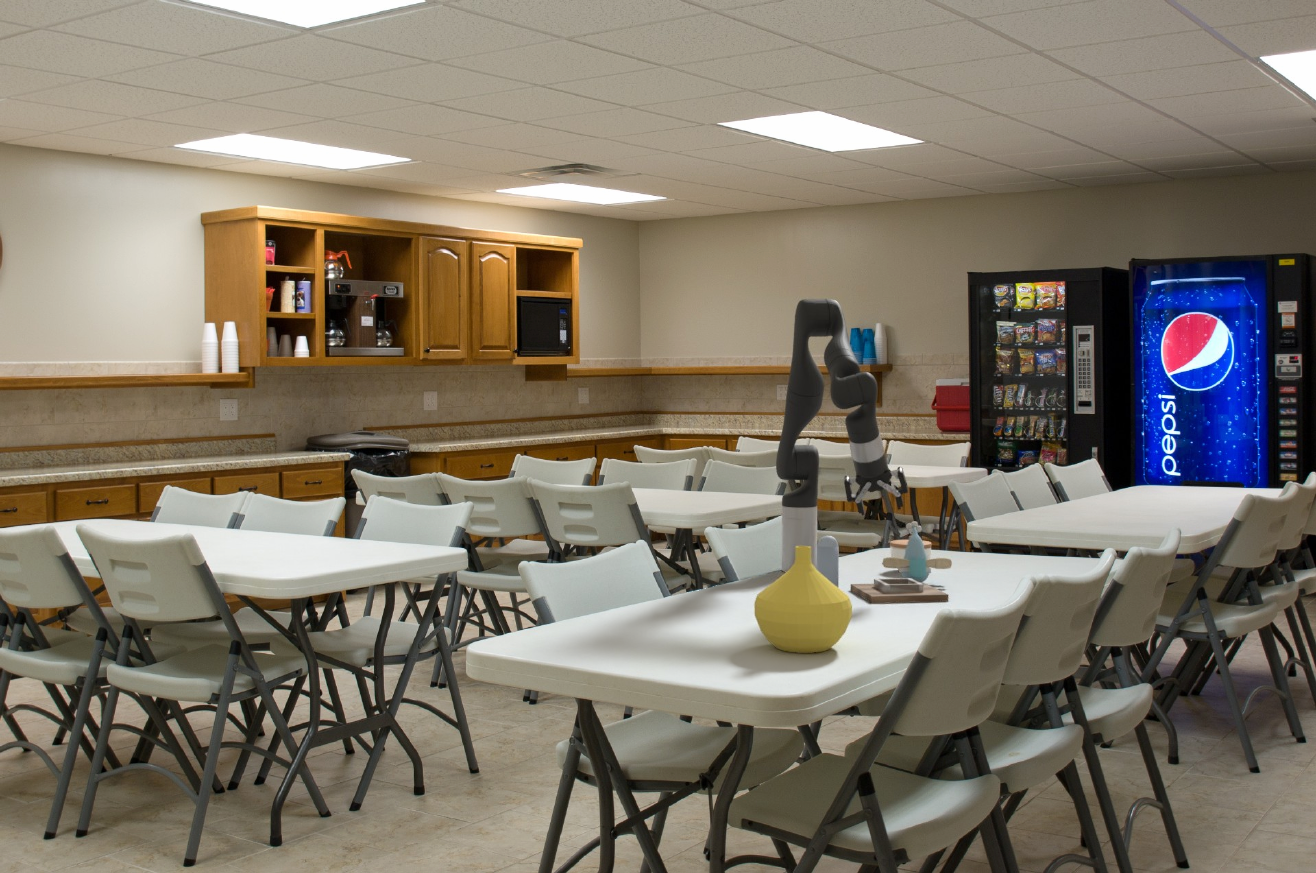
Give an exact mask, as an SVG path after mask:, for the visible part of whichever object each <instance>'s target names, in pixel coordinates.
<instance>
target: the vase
mask: <svg viewBox="0 0 1316 873" xmlns="http://www.w3.org/2000/svg"><path fill="white" fill-rule="evenodd" d="M753 604H754V617H755V620H756V622H757V624H758V627H759V630H760V632H761V633H762V634H763V636H764V637H765V639H766V640H767V641H768V642H770V643H771V645H773V646H774V647H775V648H777V649H778V650H780V651H783V652H787V653H788V652H789V653H795V652H796V654H814V652H816V653H821V652H825V651H828V650H830V649H831V648H833V646H835V645H836V644H837V643H838V642H839V641H840V640H841V638H842V637H843V636H844V635H845V634H846V632H847V629H848V627H849V626H850V625H849V624H850V622H851V619H852V617H853V614H852V613H853V604H852V601H851V599H850V596H849V595H848V594H847V593H846V592H844V591H843V590H842V589H840V588H839V586H838V587H836V586H835V585H834V584H833V583H831V582H830V581H829V580H828V579H827V578H826V577H824V576H823V575H822V574H821V573H820V572H819V571H817V570H816V568H815V567H814V566H813V564H812V562H811V547H810V546H796V547H795V563H794V564H793V566H792V567H791V568H790V569H789V570H788V571H787V572H784V573H783V574H782V575H781V576H780V577H778V578H777V579H776V580H775V581H773V582H772V583H771V584H769V585H768V586H766V587H765V588H764V589H763V590H762V591H760V592H759V593H758V594H757V595H756V598H755V600H754V603H753Z"/></svg>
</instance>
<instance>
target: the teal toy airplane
mask: <svg viewBox="0 0 1316 873" xmlns="http://www.w3.org/2000/svg"><path fill="white" fill-rule="evenodd" d="M905 528H906V530H907V531H908V532H909V534H910V536H911V537H910V539H909V538H908V540H909V541H908V544H907V548H906V549H905V556H904V558H898V557H891V556H890V557H889V556H888V557H884V558H883V559H882V562H881V565H882V566H883V567H884V568H886V569H897V568H900V572H899V573H900V574H901V576H902V578H911V579H913V580H916V581H918V582H920V583H924V582H925V581H926V580H927V579H928V578H929V575H930V574H931V573H932V569H936V570H946V569H948V570H949V569H951V568H952V565H953V563H952V559H951V558H948V557H947V558H946V557H936V558H935V557H934V558H930V559H928V558H927V556H926V553H925V549H924V544H923V541H924V540H922V537H921V536H919V534H918V533H921V532H922V531H923V528H922V526H921V525H919V523H918V521H911V522H909V523H908V522H907V524H906V525H905Z"/></svg>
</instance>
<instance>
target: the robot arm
mask: <svg viewBox="0 0 1316 873" xmlns="http://www.w3.org/2000/svg"><path fill="white" fill-rule="evenodd" d="M793 326H794V327H793V342H792V358H791V362H790V363H791V364H790V370H789V377H788V381H787V388H786V398H785V408H784V416H783V423H782V424H783V425H782V430H781V434H780V439H779V443H778V447H777V453H776V460H775V467H776V468H775V471H776V474H777V477H778V478H779V479H780V480H783V481H803V482H802V484H801V485H800V486H799V487H798V488H796V489H794V490H792V491H790V492H788V493H784V494H782V497H781V571H782V572H784V573H786V572H787V571H788V570H789V569H790V568H791V567H792V566H793V564H794V563H795V547H796V546H810V547H811V562H812V564H813V566H814V567H815V568H816V570H817V544H818V495H819V490H818V489H819V474H820V473H819V472H820V471H819V470H820V454H819V451H818V448H817V447H816V445H813V444H796V442H797V441H798V438H799V436H800V435H801V433H802V432H803V430H805V429H806V428H807V426H808V425H809V424H810V423H811V422H812V421H813V419H814V418H816V416H817V414H818V413H819V412H820V410H821V409H822V406H823V401H824V393H825V386H826V385H825V379H824V377H823V376H824V375H823V374H822V372H821V370H820V368H819V367H818V365H817V364H816V362H815V360H814V358H813V356H812V354H811V351H810V348H809V341H810V340H809V339H810V338H811V337H815V338H816V337H817V338H818V337H819V338H821V337H822V338H823V337H827V338H828V337H831V339H830V341H828V343H827V345H826V347H825V349H824V352H823V360H824V361H823V362H824V365H825V367H826V370H827V372H828V375H829V377H830V387H829V388H830V389H829V391H830V392H829V394H830V399H831V401H832V404H833V405H834V406H835V407H836V408H837V409H840V410H848V409H851V408H855V407H857V408H856V409H854V410H853V411H851V412H849V413H848V414H847V415H846V417H845V421H844V422H845V428H846V431H847V436H848V440H849V449H850V450H849V451H850V455H851V458H852V461H853V462H852V463H853V467H854V470H855V476H849V475H845V476H843V477H844V478H843V483H844V489H845V490H844V491H845V496H846V501H847V503H851V502H855V504H856V508H857V512H858V514H859V515H860V514H861V516H865V515H866V509H865V505H864V501H863V497H865V495H866V494H867V492H869V493H873V492H874V493H875V492H877V491H878V492H881V491H884V490H886V491H887V492H888V493H891V494H892V495H893V496H894V498H895V502H896V507H897V510H898V511H900V510H901V509H902V508H903V507H904V501H903V496H902V495H904V494H907V493H909V490H908V489H909V488H908V482H907V480H906V476H905V472H904V468H903V467H902V466H897V469H894V470H891V469H890V468H889V466H888V460H887V456H886V452H885V447H884V442H883V439H882V436H881V434H880V430H879V424H878V421H877V401H878V391H879V390H878V382H877V380H876V378H875V376H874V375H873V374H871V373H870V372H868V371H861V366H860V364H859V361H858V360H857V358H856V356H855V353H854V352H853V350H852V347H851V343H850V337H849V334H848V328H847V325H846V320H845V316H844V313H843V309H842V306H841V304H840V303H839V302H838V301H837V300H835V299H831V298H806V299H805V298H804V299H801V300H799V301H798V303H797V305H796V309H795V314H794V324H793ZM892 477H893V478H895V479H896V480H898V481H899V484H900V486H898V485H897V484H895V482H894V481H893V480H892ZM855 483H856V484H857V485H858V486H859V487H858V490H857V491H856V493H855V494H854V493H853V491H852V490H853V489H852V488H853V486H854V484H855Z"/></svg>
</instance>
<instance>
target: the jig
mask: <svg viewBox="0 0 1316 873" xmlns="http://www.w3.org/2000/svg"><path fill="white" fill-rule="evenodd" d="M850 591H851V592H853V593H854V594H857V596H860V597H861V598H863V599H864V600H866V601H868V602H870V604H882V603H884V604H885V603H886V604H887V603H920V602H921V603H924V602H926V603H928V602H930V603H931V602H933V603H934V602H949V594H948V593H946V592H943V591H942V590H939V589H938V588H936V587H933V586H931V585H930V584H927V583H924V582H921V583H920V582H918V581H916V580H913V579H911V578H903V577H902V578H899V577H897V578H873V583H851V584H850Z"/></svg>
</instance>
